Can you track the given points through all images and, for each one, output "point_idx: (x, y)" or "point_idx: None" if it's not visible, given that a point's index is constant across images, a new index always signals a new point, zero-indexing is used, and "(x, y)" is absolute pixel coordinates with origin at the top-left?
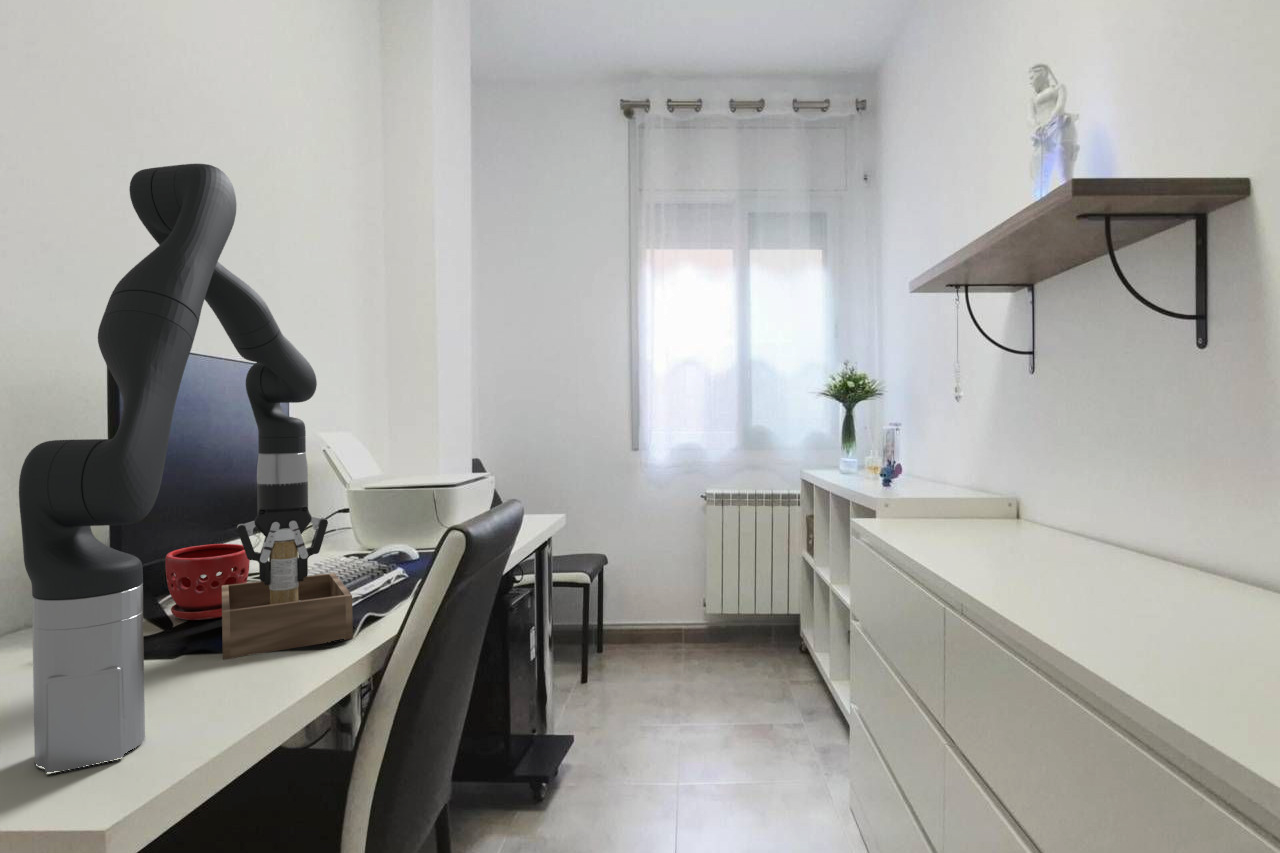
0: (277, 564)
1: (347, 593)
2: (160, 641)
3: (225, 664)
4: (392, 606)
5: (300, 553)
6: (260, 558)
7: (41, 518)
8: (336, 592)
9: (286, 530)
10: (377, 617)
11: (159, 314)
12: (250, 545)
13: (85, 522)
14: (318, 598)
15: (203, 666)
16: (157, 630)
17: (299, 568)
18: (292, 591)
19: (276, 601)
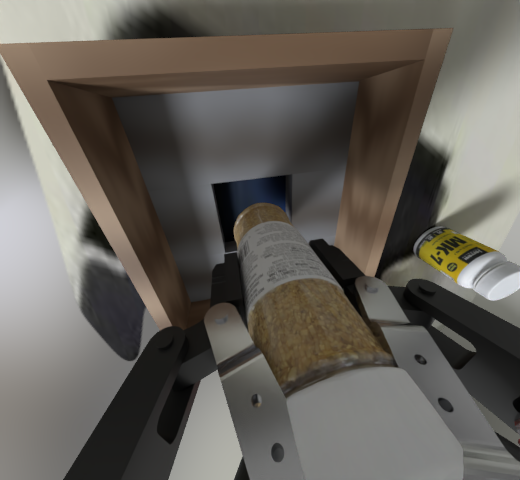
0: (316, 266)
1: (43, 105)
2: (396, 232)
3: (360, 18)
4: (86, 293)
5: (237, 320)
6: (386, 287)
7: None
8: (150, 255)
9: None
10: (94, 237)
11: None
12: (486, 332)
13: None
14: (152, 68)
15: None
16: (386, 276)
17: (237, 275)
18: (250, 226)
19: (281, 213)
